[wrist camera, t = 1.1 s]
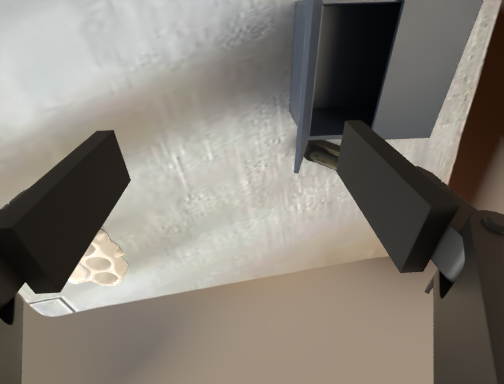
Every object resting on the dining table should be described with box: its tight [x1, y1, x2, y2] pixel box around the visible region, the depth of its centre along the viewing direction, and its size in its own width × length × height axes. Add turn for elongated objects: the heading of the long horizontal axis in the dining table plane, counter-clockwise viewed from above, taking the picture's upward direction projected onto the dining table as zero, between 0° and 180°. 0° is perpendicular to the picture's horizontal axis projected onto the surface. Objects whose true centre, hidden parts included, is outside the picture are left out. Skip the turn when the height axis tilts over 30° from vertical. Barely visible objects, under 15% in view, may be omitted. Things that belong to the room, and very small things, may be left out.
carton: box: [289, 0, 483, 140], centre depth 30 cm, size 14×13×11 cm
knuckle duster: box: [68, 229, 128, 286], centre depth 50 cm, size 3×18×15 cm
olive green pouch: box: [304, 140, 340, 170], centre depth 40 cm, size 5×3×15 cm
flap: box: [294, 0, 323, 173], centre depth 22 cm, size 7×13×1 cm
